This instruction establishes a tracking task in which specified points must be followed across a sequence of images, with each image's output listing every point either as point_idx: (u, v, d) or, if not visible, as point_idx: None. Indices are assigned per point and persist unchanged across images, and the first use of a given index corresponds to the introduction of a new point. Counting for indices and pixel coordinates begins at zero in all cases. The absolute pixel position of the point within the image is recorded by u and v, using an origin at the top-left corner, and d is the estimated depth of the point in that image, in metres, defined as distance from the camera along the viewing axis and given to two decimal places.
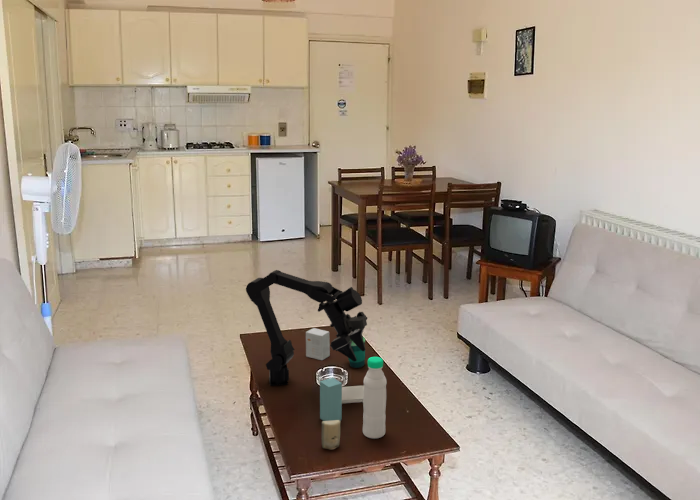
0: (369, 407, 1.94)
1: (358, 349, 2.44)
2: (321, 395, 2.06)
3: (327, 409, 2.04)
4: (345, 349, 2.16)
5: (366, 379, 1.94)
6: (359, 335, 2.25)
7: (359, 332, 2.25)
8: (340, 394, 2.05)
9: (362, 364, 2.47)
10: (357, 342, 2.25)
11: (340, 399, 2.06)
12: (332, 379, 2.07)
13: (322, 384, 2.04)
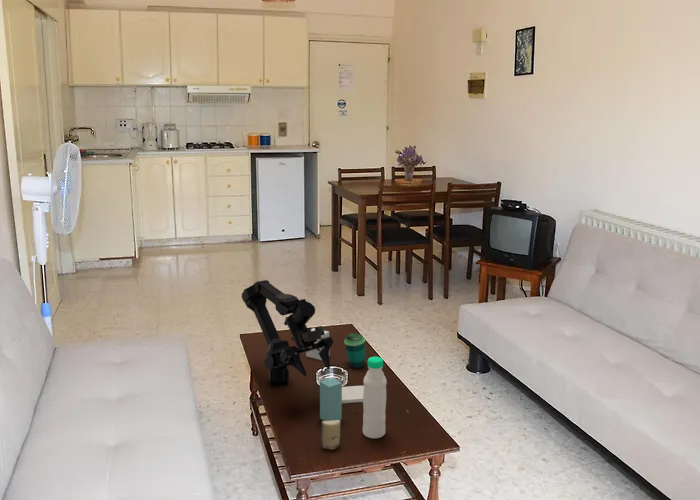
0: (369, 407, 1.94)
1: (358, 349, 2.44)
2: (321, 395, 2.06)
3: (327, 409, 2.04)
4: (295, 362, 2.10)
5: (366, 379, 1.94)
6: (324, 352, 2.15)
7: (324, 348, 2.15)
8: (340, 394, 2.05)
9: (362, 364, 2.47)
10: (323, 359, 2.16)
11: (340, 399, 2.06)
12: (332, 379, 2.07)
13: (322, 384, 2.04)
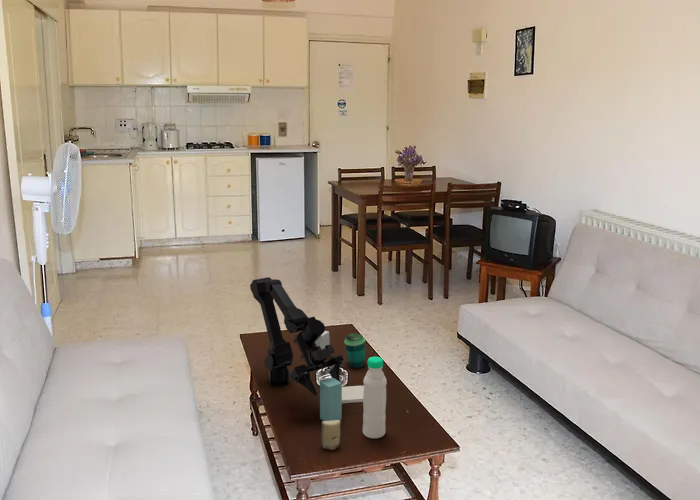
0: (369, 407, 1.94)
1: (358, 349, 2.44)
2: (321, 395, 2.06)
3: (327, 409, 2.04)
4: (305, 381, 2.06)
5: (366, 379, 1.94)
6: (334, 370, 2.11)
7: (334, 367, 2.11)
8: (340, 394, 2.05)
9: (362, 364, 2.47)
10: (334, 377, 2.12)
11: (340, 399, 2.06)
12: (332, 379, 2.07)
13: (322, 384, 2.04)
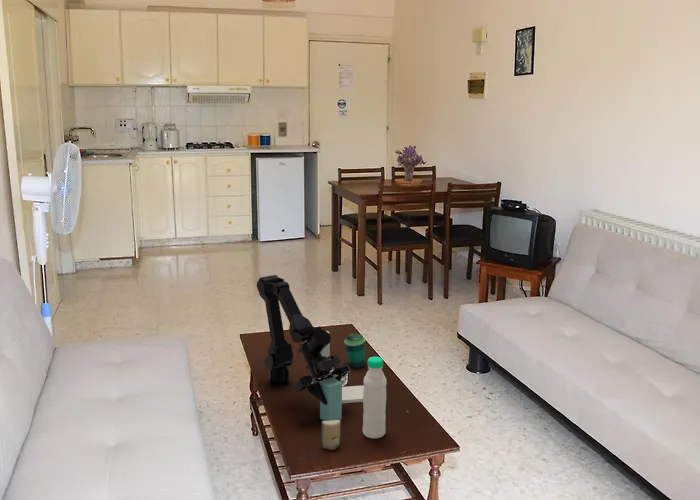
0: (369, 407, 1.94)
1: (358, 349, 2.44)
2: None
3: (327, 409, 2.04)
4: (315, 391, 2.05)
5: (366, 379, 1.94)
6: None
7: None
8: (340, 394, 2.05)
9: (362, 364, 2.47)
10: None
11: (340, 399, 2.06)
12: (332, 379, 2.07)
13: (322, 384, 2.04)
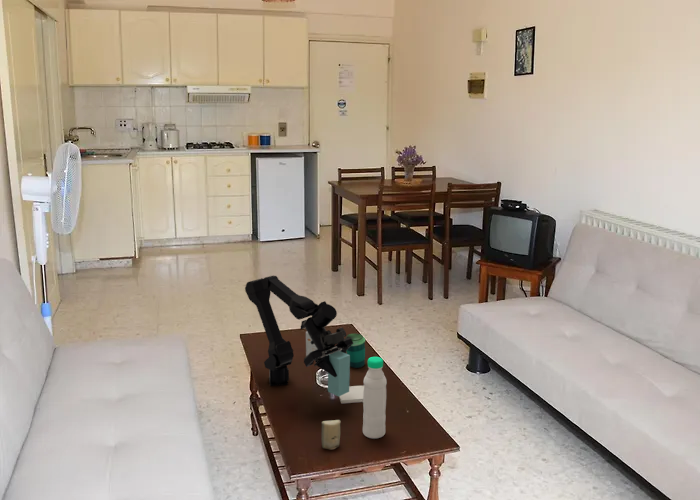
0: (369, 407, 1.94)
1: (358, 349, 2.44)
2: None
3: (337, 381, 2.08)
4: (324, 364, 2.09)
5: (366, 379, 1.94)
6: None
7: (341, 351, 2.13)
8: (348, 366, 2.10)
9: (362, 364, 2.47)
10: None
11: (348, 371, 2.10)
12: (339, 352, 2.11)
13: (331, 357, 2.08)
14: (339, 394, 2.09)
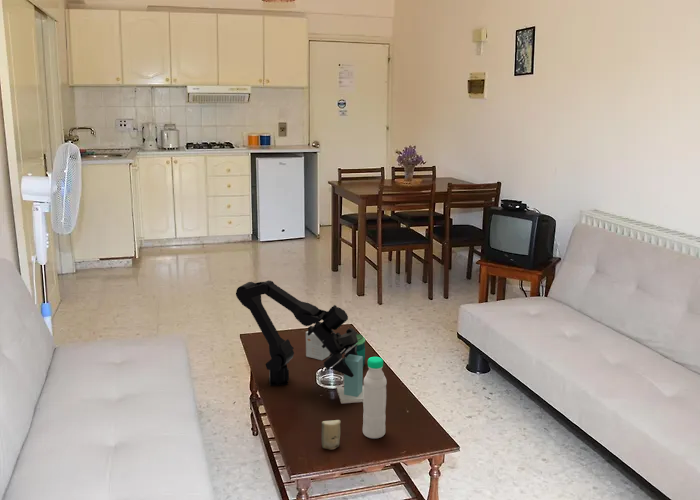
0: (369, 407, 1.94)
1: (358, 349, 2.44)
2: None
3: (355, 383, 2.20)
4: (340, 366, 2.17)
5: (366, 379, 1.93)
6: (353, 352, 2.25)
7: (353, 349, 2.25)
8: (362, 367, 2.23)
9: None
10: None
11: (362, 371, 2.23)
12: (351, 355, 2.23)
13: (348, 361, 2.19)
14: (357, 394, 2.21)
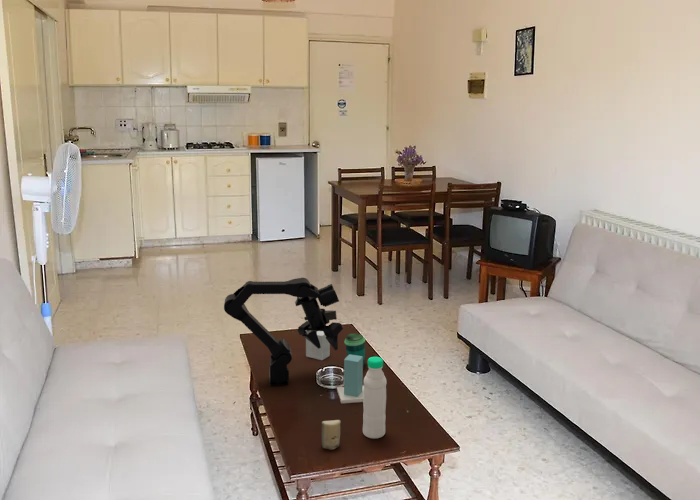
0: (369, 407, 1.94)
1: (358, 349, 2.44)
2: (346, 372, 2.20)
3: (355, 383, 2.20)
4: (332, 338, 2.28)
5: (366, 379, 1.94)
6: (315, 333, 2.37)
7: None
8: (362, 367, 2.23)
9: None
10: (313, 340, 2.36)
11: (362, 371, 2.23)
12: (351, 355, 2.23)
13: (348, 361, 2.19)
14: (357, 394, 2.21)
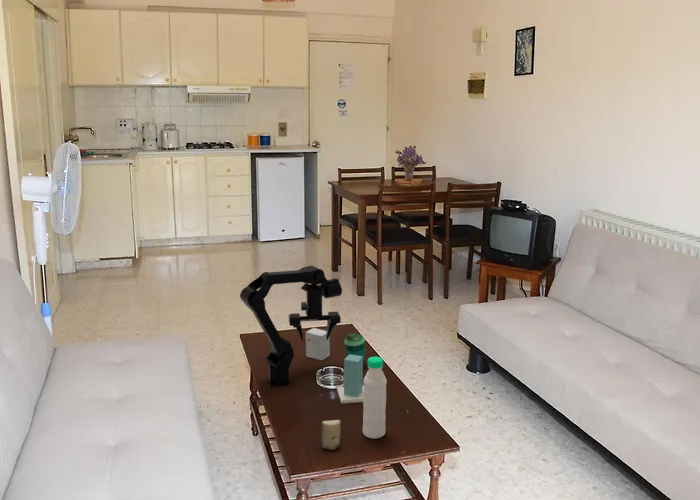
0: (369, 407, 1.94)
1: (358, 349, 2.44)
2: (346, 372, 2.20)
3: (355, 383, 2.20)
4: None
5: (366, 379, 1.94)
6: None
7: None
8: (362, 367, 2.23)
9: None
10: (301, 332, 2.37)
11: (362, 371, 2.23)
12: (351, 355, 2.23)
13: (348, 361, 2.19)
14: (357, 394, 2.21)
